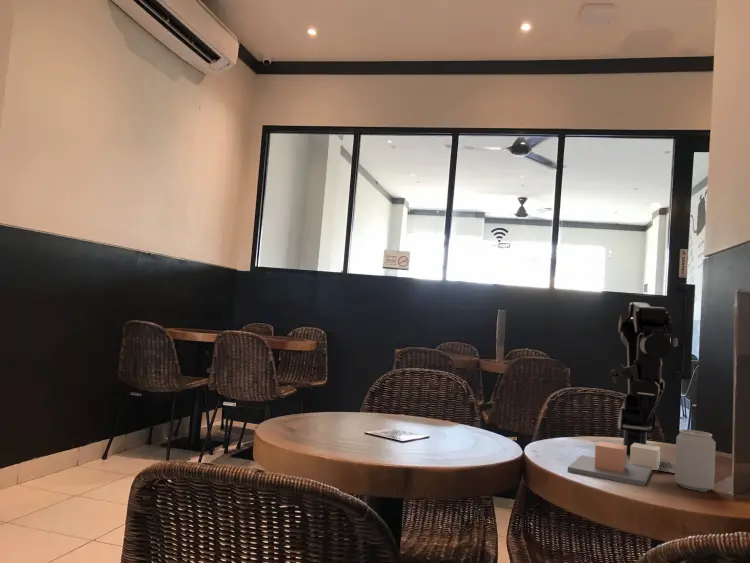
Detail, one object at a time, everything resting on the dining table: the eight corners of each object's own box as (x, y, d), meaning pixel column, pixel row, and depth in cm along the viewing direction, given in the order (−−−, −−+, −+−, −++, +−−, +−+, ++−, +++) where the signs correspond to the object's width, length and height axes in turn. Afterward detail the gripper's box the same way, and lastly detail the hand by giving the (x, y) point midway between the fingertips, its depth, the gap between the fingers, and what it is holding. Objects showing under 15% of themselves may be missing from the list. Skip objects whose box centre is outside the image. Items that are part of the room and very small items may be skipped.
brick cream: (633, 462, 147) (634, 442, 147) (659, 467, 143) (660, 446, 144) (629, 466, 142) (630, 446, 142) (656, 471, 138) (657, 450, 139)
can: (719, 494, 121) (721, 436, 122) (680, 489, 123) (682, 432, 124) (706, 484, 129) (708, 430, 129) (670, 480, 130) (672, 426, 131)
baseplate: (581, 459, 145) (581, 455, 145) (651, 471, 137) (651, 467, 137) (567, 471, 132) (567, 467, 132) (644, 486, 124) (644, 481, 124)
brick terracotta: (598, 462, 139) (599, 441, 139) (626, 467, 136) (627, 445, 136) (594, 467, 134) (595, 445, 134) (622, 472, 131) (623, 449, 131)
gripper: (619, 352, 156) (617, 410, 155) (608, 354, 140) (605, 419, 139) (665, 356, 151) (663, 417, 150) (659, 359, 135) (656, 426, 134)
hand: (646, 419), depth 143 cm, fingers open, 9 cm apart
